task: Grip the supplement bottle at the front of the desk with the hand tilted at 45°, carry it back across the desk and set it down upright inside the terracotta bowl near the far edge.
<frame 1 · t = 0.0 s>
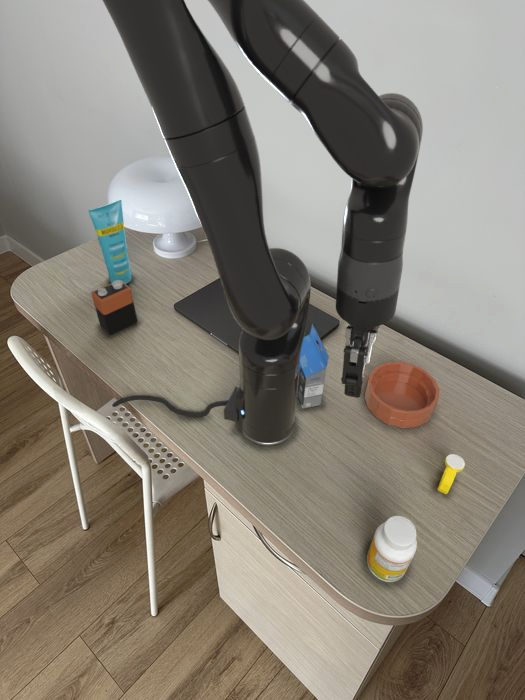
hand: (358, 373, 70), 17 cm above the table, tool pointing down, fingers open, 8 cm apart
battery: (119, 325, 104), on the table
blue grey carton: (304, 390, 91), on the table
tube: (121, 280, 116), on the table
bowl: (398, 402, 89), on the table
yellow flashlight: (444, 484, 77), on the table
supplement bottle: (385, 563, 68), on the table
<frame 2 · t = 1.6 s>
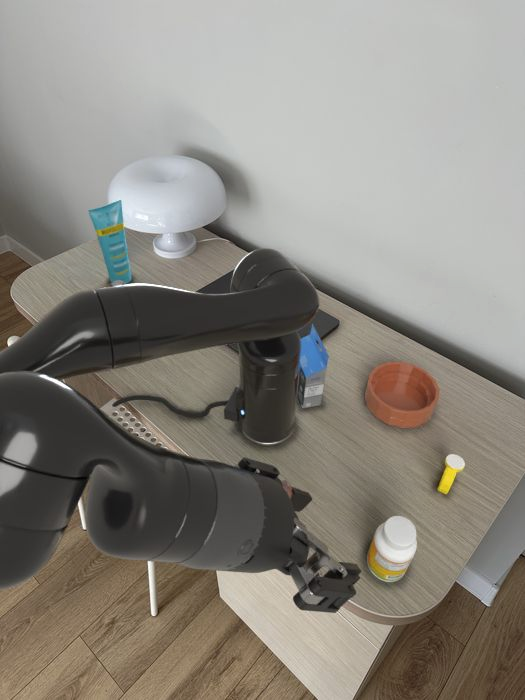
hand: (327, 537, 48), 21 cm above the table, tool tilted 40°, fingers open, 8 cm apart
nothing on the table moved.
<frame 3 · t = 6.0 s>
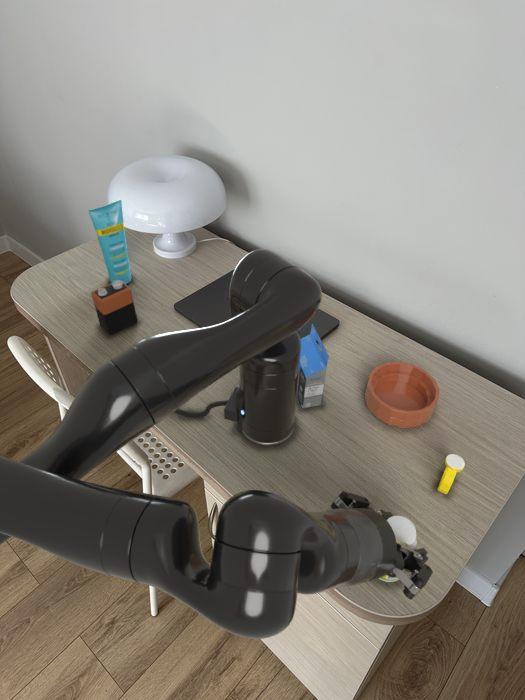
hand: (403, 537, 65), 6 cm above the table, tool tilted 45°, fingers closed on supplement bottle, 5 cm apart
supplement bottle: (385, 563, 68), on the table, touching gripper
everything else where it was.
when the fingers open (6 cm above the table, at t = 16.2 s): supplement bottle stays where it is, resting on bowl.
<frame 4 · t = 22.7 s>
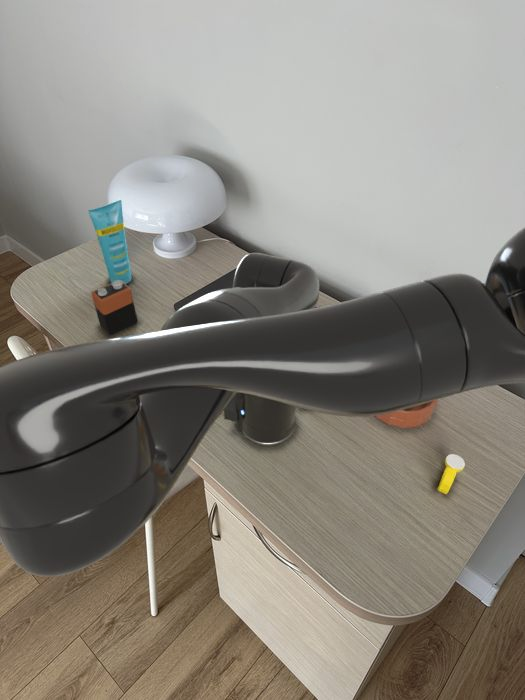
hand: (452, 335, 62), 27 cm above the table, tool tilted 45°, fingers open, 8 cm apart
supplement bottle: (398, 402, 88), resting on bowl
everything else where it was.
at the end: supplement bottle 0.2 cm off-centre in the bowl, point 0.4 cm above the bowl's base; supplement bottle tilted 0°; the gripper is holding nothing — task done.
